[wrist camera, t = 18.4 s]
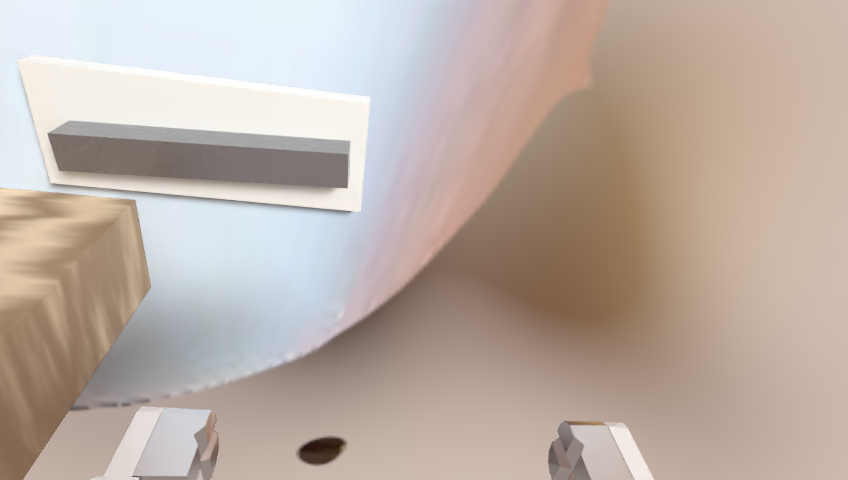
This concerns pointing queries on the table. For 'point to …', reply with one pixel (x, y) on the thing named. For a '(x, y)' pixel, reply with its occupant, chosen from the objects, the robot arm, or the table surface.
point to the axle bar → (200, 154)
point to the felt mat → (194, 123)
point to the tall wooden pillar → (59, 307)
